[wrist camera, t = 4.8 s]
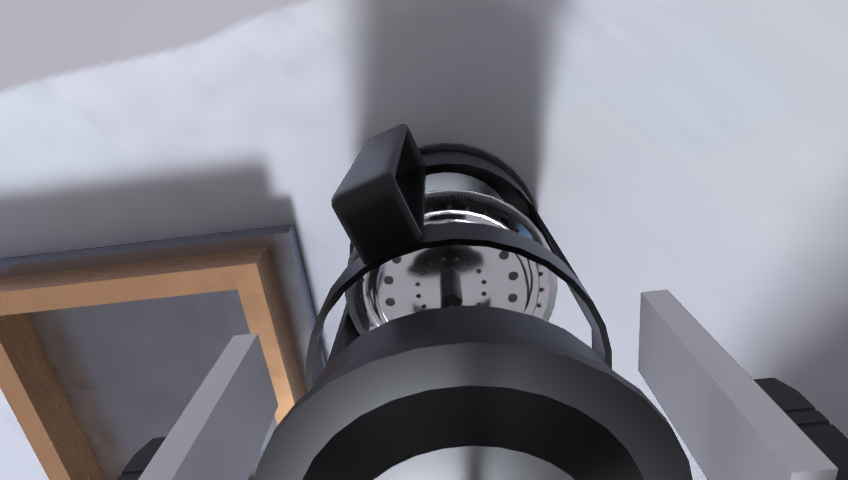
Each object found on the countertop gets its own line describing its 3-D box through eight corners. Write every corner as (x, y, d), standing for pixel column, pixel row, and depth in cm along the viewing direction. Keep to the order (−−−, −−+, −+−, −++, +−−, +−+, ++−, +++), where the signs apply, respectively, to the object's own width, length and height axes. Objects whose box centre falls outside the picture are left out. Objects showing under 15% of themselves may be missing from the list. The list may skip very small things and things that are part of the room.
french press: (567, 285, 27) (1099, 1232, 6) (408, 347, 28) (344, 1274, 7) (482, 75, 23) (1183, 539, 2) (304, 160, 25) (-537, 970, 3)
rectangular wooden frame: (294, 224, 26) (276, 248, 23) (358, 497, 33) (351, 543, 30) (-20, 261, 27) (-76, 289, 24) (108, 519, 34) (76, 565, 31)
